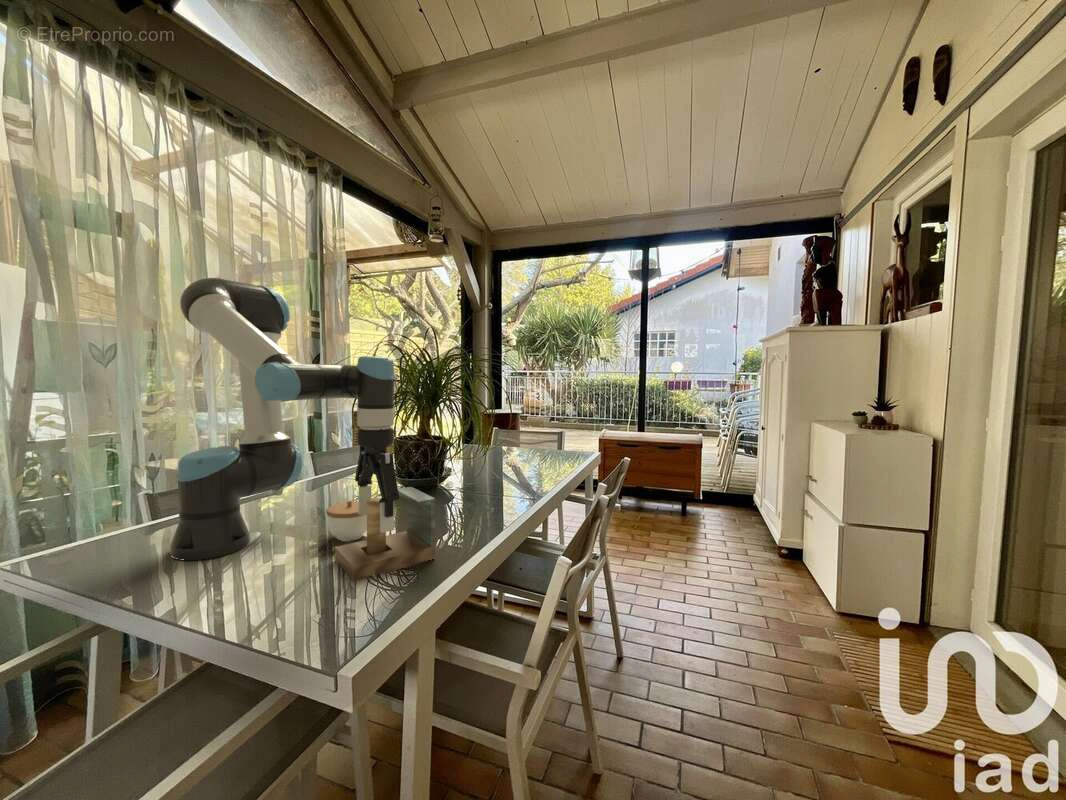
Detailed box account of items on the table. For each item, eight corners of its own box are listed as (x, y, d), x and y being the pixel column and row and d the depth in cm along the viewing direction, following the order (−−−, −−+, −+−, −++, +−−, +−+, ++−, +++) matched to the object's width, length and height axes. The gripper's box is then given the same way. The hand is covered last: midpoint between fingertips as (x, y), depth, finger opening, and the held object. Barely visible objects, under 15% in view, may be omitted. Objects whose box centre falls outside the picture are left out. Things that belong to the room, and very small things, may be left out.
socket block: (353, 581, 89) (353, 513, 89) (335, 560, 99) (334, 498, 99) (435, 559, 101) (435, 498, 100) (410, 541, 111) (410, 486, 110)
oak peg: (370, 567, 96) (370, 503, 95) (364, 561, 99) (364, 499, 98) (388, 562, 99) (388, 500, 98) (382, 556, 102) (381, 496, 101)
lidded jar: (380, 533, 116) (380, 498, 115) (348, 548, 106) (347, 509, 106) (351, 527, 121) (350, 493, 120) (317, 540, 111) (316, 503, 110)
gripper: (416, 433, 90) (415, 535, 91) (372, 420, 109) (372, 504, 110) (379, 435, 85) (379, 543, 86) (340, 421, 104) (340, 510, 106)
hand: (375, 522), depth 98 cm, fingers open, 13 cm apart
